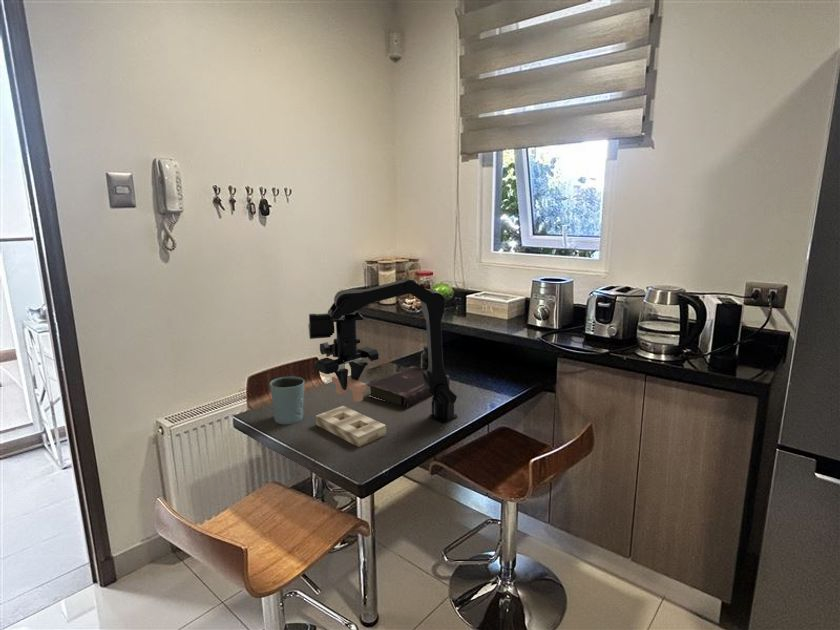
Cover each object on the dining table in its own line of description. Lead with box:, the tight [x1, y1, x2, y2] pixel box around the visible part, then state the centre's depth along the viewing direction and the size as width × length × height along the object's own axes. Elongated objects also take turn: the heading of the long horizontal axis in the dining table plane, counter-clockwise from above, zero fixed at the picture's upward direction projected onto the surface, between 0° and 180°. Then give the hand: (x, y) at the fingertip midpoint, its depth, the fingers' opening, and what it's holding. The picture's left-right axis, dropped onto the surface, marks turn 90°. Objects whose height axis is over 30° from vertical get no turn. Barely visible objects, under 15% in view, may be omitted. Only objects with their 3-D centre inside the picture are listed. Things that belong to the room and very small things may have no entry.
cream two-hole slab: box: [315, 405, 387, 448], centre depth 144 cm, size 20×10×3 cm, turn 46°
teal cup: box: [269, 376, 306, 425], centre depth 151 cm, size 10×10×12 cm
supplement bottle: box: [420, 344, 429, 369], centre depth 186 cm, size 7×7×12 cm
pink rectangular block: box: [331, 374, 367, 403], centre depth 141 cm, size 12×3×5 cm, turn 46°
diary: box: [366, 365, 451, 410], centre depth 173 cm, size 19×25×5 cm
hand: (349, 388), depth 141 cm, fingers closed on pink rectangular block, 3 cm apart
